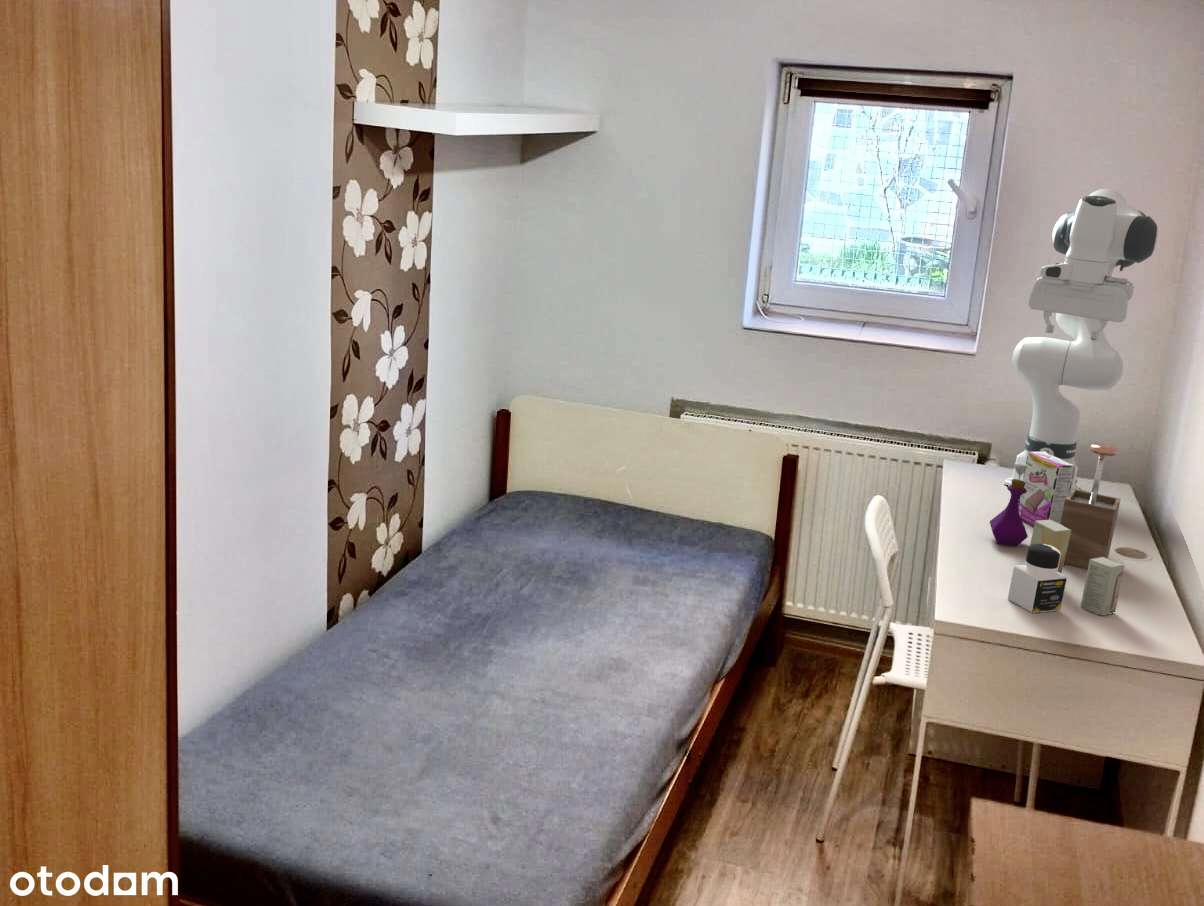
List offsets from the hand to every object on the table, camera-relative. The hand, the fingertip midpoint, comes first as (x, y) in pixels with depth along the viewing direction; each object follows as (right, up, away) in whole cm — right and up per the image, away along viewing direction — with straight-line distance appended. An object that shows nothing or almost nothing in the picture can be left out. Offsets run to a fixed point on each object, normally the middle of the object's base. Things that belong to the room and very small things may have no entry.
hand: (1071, 336), depth 274 cm
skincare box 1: (-13, -52, -18) cm, 56 cm away
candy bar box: (-1, -42, +18) cm, 46 cm away
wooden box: (0, -49, -4) cm, 49 cm away
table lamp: (+2, -37, -7) cm, 38 cm away
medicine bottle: (-19, -55, -31) cm, 66 cm away
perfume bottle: (-13, -45, +4) cm, 47 cm away
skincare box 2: (-7, -56, -31) cm, 64 cm away
